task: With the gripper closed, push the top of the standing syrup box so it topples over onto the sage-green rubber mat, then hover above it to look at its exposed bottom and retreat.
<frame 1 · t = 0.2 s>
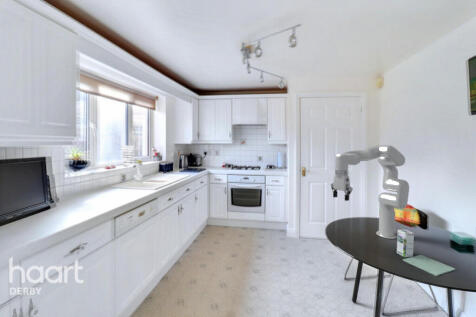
hand: (340, 198, 142), 31 cm above the table, fingers open, 9 cm apart
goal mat: (428, 264, 119), on the table
syrup box: (404, 255, 130), on the table
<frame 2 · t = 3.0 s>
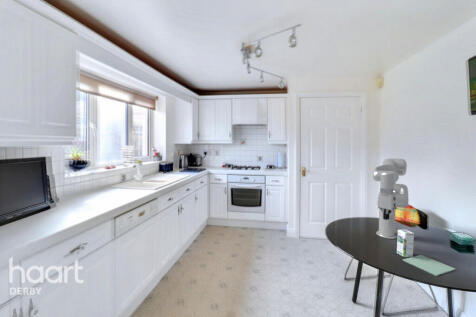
hand: (386, 219, 140), 18 cm above the table, fingers closed
nothing on the table moved.
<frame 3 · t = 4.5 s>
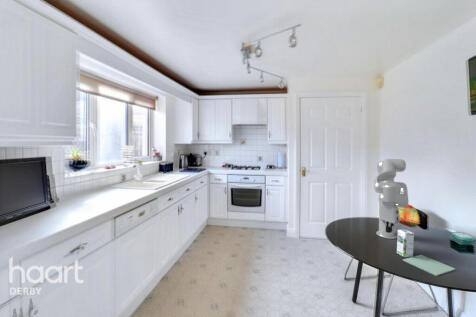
hand: (388, 232, 139), 10 cm above the table, fingers closed
nothing on the table moved.
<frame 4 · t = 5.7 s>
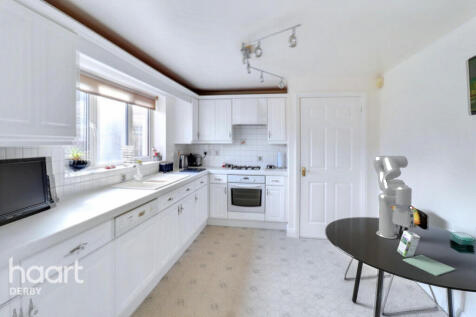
hand: (402, 236, 131), 10 cm above the table, fingers closed
syrup box: (404, 253, 130), point 1 cm above the table, touching gripper
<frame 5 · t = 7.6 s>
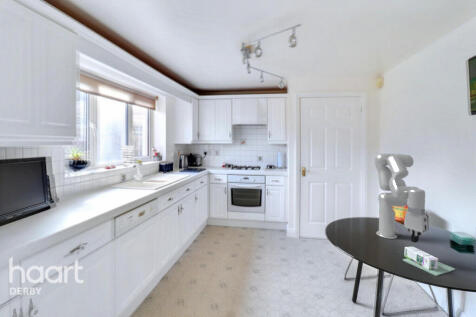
hand: (414, 241, 125), 10 cm above the table, fingers closed
syrup box: (408, 251, 128), point 3 cm above the table, touching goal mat
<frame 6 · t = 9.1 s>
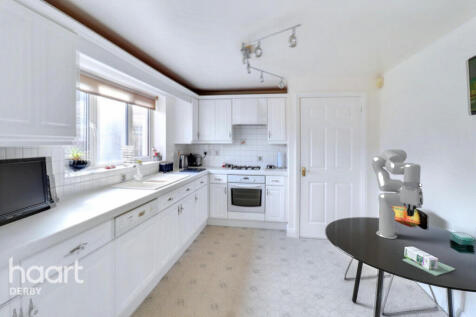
hand: (410, 216, 127), 24 cm above the table, fingers closed
nothing on the table moved.
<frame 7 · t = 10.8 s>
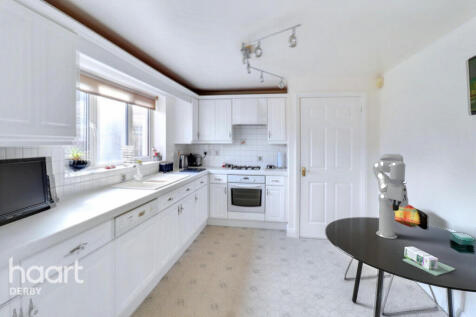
hand: (395, 210, 137), 25 cm above the table, fingers closed
nothing on the table moved.
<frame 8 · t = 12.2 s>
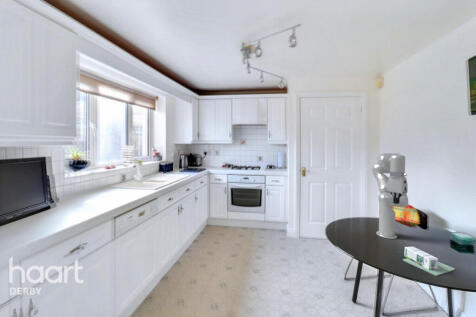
hand: (396, 203, 137), 29 cm above the table, fingers closed
nothing on the table moved.
at the end: syrup box tilted 90°; syrup box touching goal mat; syrup box inside the target area (3.8 cm from its centre), point 3.5 cm above the table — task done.
